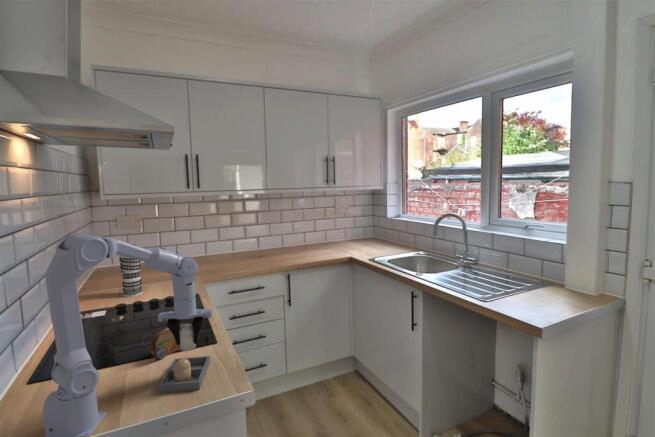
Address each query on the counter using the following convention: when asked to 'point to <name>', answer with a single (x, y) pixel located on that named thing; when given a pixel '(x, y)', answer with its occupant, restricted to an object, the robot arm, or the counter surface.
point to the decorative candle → (131, 276)
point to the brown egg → (182, 370)
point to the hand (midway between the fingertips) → (187, 342)
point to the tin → (164, 343)
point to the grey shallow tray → (197, 374)
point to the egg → (186, 337)
